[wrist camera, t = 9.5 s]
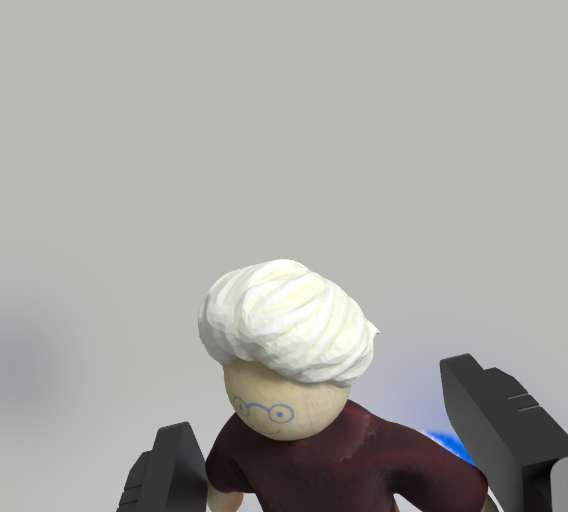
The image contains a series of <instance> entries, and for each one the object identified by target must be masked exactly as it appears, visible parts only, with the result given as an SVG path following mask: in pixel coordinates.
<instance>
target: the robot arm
mask: <svg viewBox="0 0 568 512" xmlns="http://www.w3.org/2000/svg"><path fill="white" fill-rule="evenodd" d="M440 372H441V379H442V387H443V395H444V402H445V408H446V412H447V415H448V417H449V420H450V422H451V425H452V426H453V428H454V430H455V432H456V433H457V435H458V437H459V438H460V440H461V442H462V443H463V445H464V446H465V448H466V450H467V451H468V453H469V455H470V456H471V458H472V460H473V461H474V463H475V464H476V466H477V468H478V469H479V470H481V471H482V472H483V473H484V474H485V475H486V477H487V480H488V486H489V487H490V489H491V491H492V492H493V494H494V496H495V497H496V499H497V501H498V502H499V504H500V505H501V507H502V509H503V510H504V512H568V434H567V433H566V432H565V431H564V430H563V429H562V428H561V427H560V426H559V425H558V424H557V422H556V421H555V420H554V419H553V418H552V417H551V416H550V415H549V414H548V413H547V412H546V411H545V410H544V409H543V408H542V407H540V406H539V403H538V402H537V401H536V400H535V399H534V398H533V397H532V396H531V395H529V394H528V392H527V391H526V390H525V389H524V388H523V386H522V385H521V384H520V383H519V382H518V381H517V380H516V379H515V378H514V377H512V376H510V375H508V374H506V373H505V372H503V371H501V370H499V369H497V368H490V369H486V370H483V368H482V367H481V366H480V365H479V364H478V363H477V361H476V360H475V359H474V358H473V357H472V356H471V355H470V354H468V353H467V354H463V355H459V356H454V357H450V358H446V359H443V360H441V361H440ZM207 481H208V478H207V475H206V471H205V460H204V457H203V455H202V452H201V450H200V447H199V445H198V443H197V440H196V438H195V435H194V433H193V430H192V428H191V426H190V424H189V423H188V422H182V423H178V424H174V425H170V426H166V427H162V428H160V429H159V430H158V432H157V436H156V439H155V442H154V446H153V449H152V450H151V451H147V452H143V453H142V454H141V456H140V457H139V459H138V460H137V461H136V463H135V464H134V466H133V467H132V468H131V470H130V472H129V475H128V478H127V481H126V484H125V487H124V492H123V493H122V496H121V499H120V502H119V508H118V509H117V511H116V512H206V504H207V495H208V485H207Z"/></svg>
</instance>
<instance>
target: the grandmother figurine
mask: <svg viewBox="0 0 568 512" xmlns="http://www.w3.org/2000/svg"><path fill="white" fill-rule="evenodd" d="M198 328H199V335H200V338H201V341H202V343H203V344H204V345H205V348H206V350H207V352H208V354H209V355H210V356H211V357H212V358H214V359H215V360H216V361H218V362H219V363H220V364H221V365H222V366H223V370H224V380H225V387H226V391H227V394H228V397H229V400H230V402H231V404H232V406H233V408H234V410H235V411H236V412H235V413H234V414H233V415H232V416H231V418H230V419H229V420H228V421H227V423H226V424H225V425H224V427H223V428H222V430H221V431H220V433H219V434H218V437H217V438H216V440H215V442H214V445H213V447H212V449H211V451H210V453H209V455H208V457H207V460H206V462H205V471H206V475H207V478H208V481H207V485H208V495H207V503H208V506H209V508H210V510H211V511H212V512H236V511H237V510H238V508H239V507H240V505H241V503H242V500H243V494H244V493H255V494H256V496H257V498H258V501H259V503H260V505H261V507H262V510H263V511H264V512H400V511H399V509H398V506H397V504H396V501H395V499H394V496H393V495H394V494H395V493H398V494H400V495H401V496H403V497H404V498H405V499H406V500H408V501H409V502H410V503H411V504H413V505H414V506H415V507H417V508H418V509H419V510H421V511H422V512H499V511H498V508H497V506H496V505H495V503H494V502H493V500H492V499H491V497H490V496H489V495H488V493H487V492H488V480H487V477H486V475H485V474H484V473H483V472H482V471H481V470H479V469H478V468H477V467H475V466H474V465H472V464H470V463H468V462H467V461H465V460H463V459H461V458H459V457H457V456H456V455H454V454H453V453H451V452H450V451H448V450H447V449H445V448H444V447H442V446H441V445H439V444H438V443H436V442H435V441H433V440H432V439H430V438H429V437H427V436H425V435H423V434H421V433H419V432H418V431H416V430H414V429H411V428H409V427H406V426H403V425H400V424H398V423H393V422H389V421H386V420H384V419H382V418H380V417H377V416H376V415H374V414H372V413H370V412H369V411H368V410H366V409H365V408H363V407H362V406H360V405H359V404H357V403H355V402H353V401H351V400H349V399H348V397H349V393H350V389H351V385H353V384H355V383H356V382H357V381H358V379H359V378H360V376H361V374H362V373H363V372H364V371H365V370H366V369H367V367H368V366H369V364H370V363H371V361H372V358H373V338H374V337H375V336H376V335H377V334H380V331H379V330H378V329H377V328H376V327H374V325H373V324H372V323H371V322H369V321H368V320H366V319H365V317H364V315H363V313H362V311H361V308H360V307H359V305H358V304H357V303H356V302H355V301H354V300H353V299H352V298H350V297H349V296H348V295H346V294H345V292H344V291H343V290H342V289H341V288H340V287H338V286H337V285H336V284H334V283H333V282H332V281H329V280H327V279H324V278H323V277H321V276H320V275H318V274H317V273H314V272H312V271H310V270H309V269H308V268H306V267H305V266H304V265H302V264H300V263H298V262H296V261H292V260H287V259H278V260H273V261H269V262H265V263H261V264H258V265H252V266H248V267H246V268H244V269H240V270H235V271H232V272H230V273H227V274H225V275H224V276H222V277H221V278H219V279H218V280H217V281H216V282H215V284H214V285H213V286H212V288H211V289H210V290H209V291H208V292H207V294H206V295H205V297H204V298H203V301H202V303H201V305H200V309H199V312H198Z"/></svg>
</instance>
